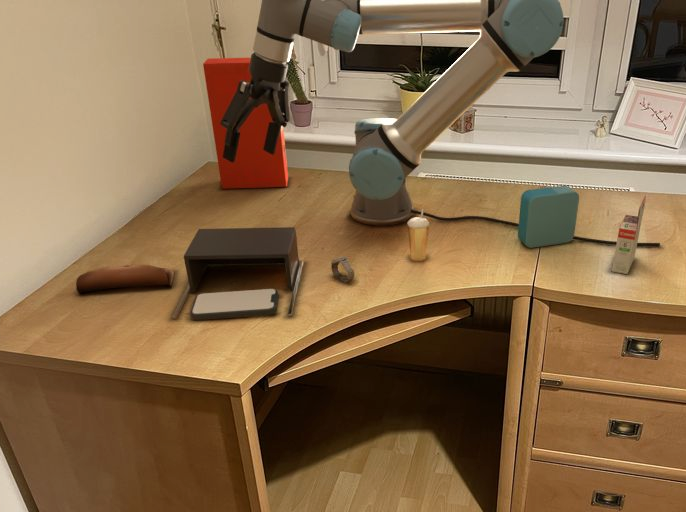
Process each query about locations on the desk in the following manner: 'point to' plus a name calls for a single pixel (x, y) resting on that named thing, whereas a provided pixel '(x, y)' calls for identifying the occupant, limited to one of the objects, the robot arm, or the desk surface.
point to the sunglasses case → (124, 277)
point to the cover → (241, 250)
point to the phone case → (234, 304)
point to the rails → (290, 303)
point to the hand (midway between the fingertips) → (249, 155)
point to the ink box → (627, 241)
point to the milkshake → (418, 237)
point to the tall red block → (243, 130)
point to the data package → (548, 216)
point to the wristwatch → (346, 265)
